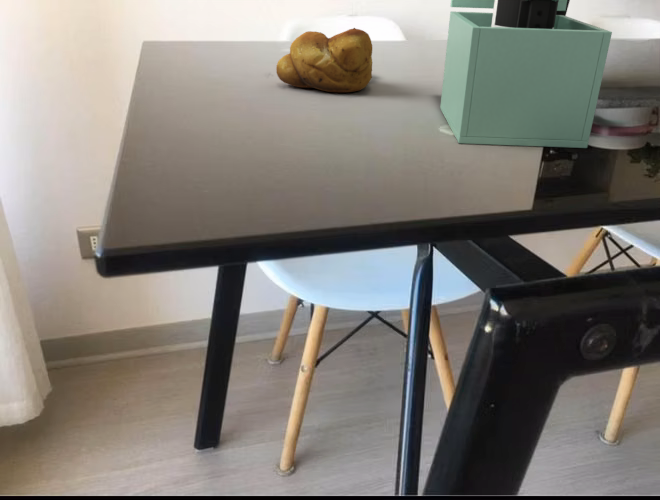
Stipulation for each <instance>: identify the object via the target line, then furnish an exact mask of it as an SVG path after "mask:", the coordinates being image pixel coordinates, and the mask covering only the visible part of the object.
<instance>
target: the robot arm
mask: <svg viewBox="0 0 660 500" xmlns="http://www.w3.org/2000/svg"><path fill="white" fill-rule="evenodd" d="M556 5H557V0H521V1H520V7H519V14H518V21H517V27H516V28H536V29H552V28H553V22H554V16H555V10H556Z"/></svg>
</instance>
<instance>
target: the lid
mask: <svg viewBox="0 0 660 500" xmlns="http://www.w3.org/2000/svg"><path fill="white" fill-rule="evenodd" d="M494 2H495V0H450V8H462V9H463V8H465V9H466V8H467V9H492V10H493V9H494ZM566 5H567V0H559V1H558V7H557V11H565V10H566Z"/></svg>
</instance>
